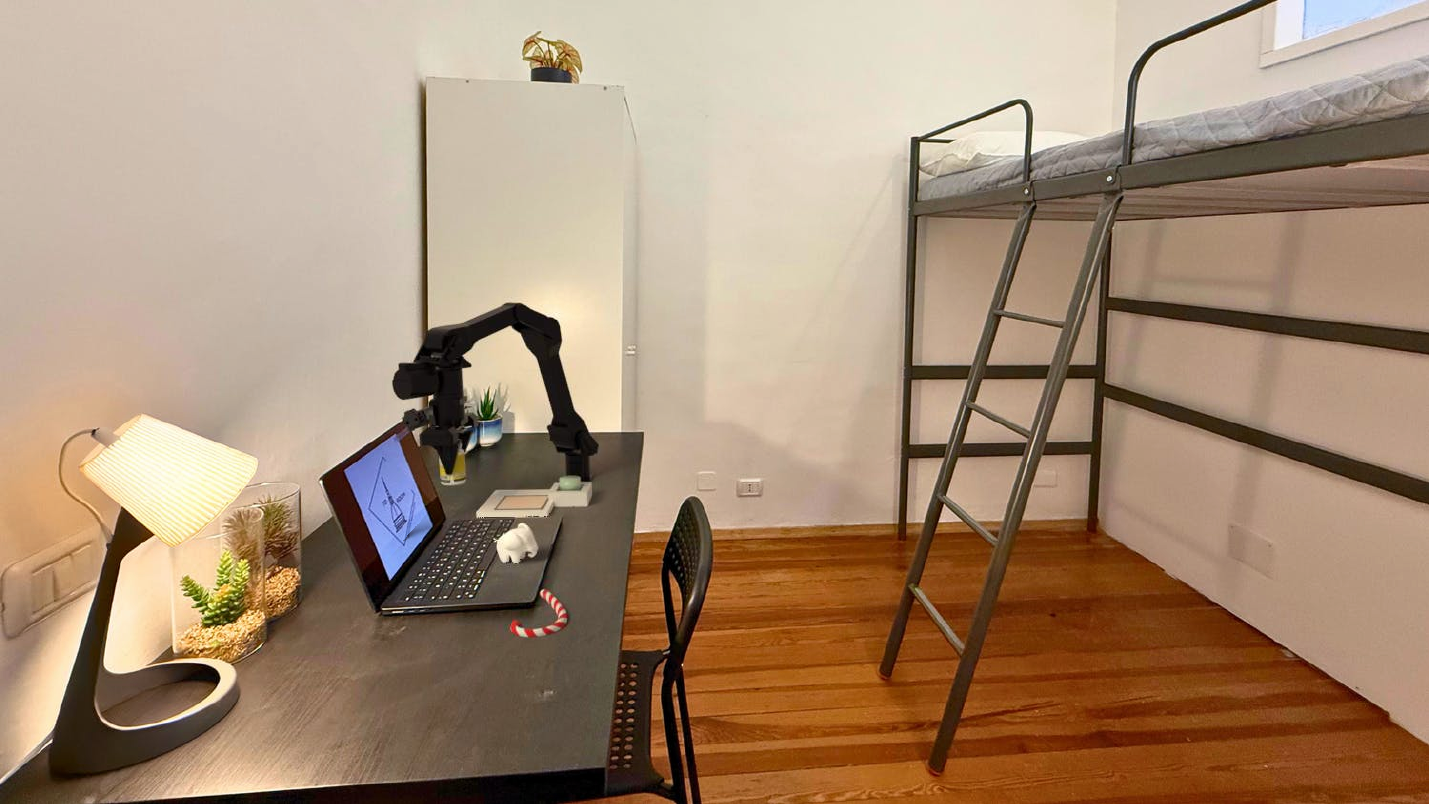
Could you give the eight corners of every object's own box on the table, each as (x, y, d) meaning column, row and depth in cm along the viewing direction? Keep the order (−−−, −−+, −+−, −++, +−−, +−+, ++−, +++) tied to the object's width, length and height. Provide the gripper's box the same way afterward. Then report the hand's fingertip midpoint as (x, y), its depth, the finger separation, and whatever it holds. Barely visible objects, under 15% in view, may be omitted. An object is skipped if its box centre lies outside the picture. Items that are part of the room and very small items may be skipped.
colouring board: (496, 495, 178) (495, 489, 178) (560, 494, 178) (560, 488, 178) (476, 517, 162) (476, 511, 162) (547, 517, 162) (547, 510, 162)
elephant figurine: (530, 569, 135) (529, 535, 134) (485, 566, 136) (483, 532, 135) (546, 555, 141) (544, 522, 140) (502, 552, 143) (501, 519, 142)
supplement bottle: (467, 478, 163) (465, 437, 162) (464, 485, 159) (462, 443, 157) (442, 480, 162) (440, 438, 161) (439, 486, 158) (436, 444, 156)
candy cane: (565, 586, 126) (567, 628, 111) (566, 594, 126) (568, 637, 111) (513, 590, 124) (509, 633, 110) (514, 598, 124) (509, 642, 110)
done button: (561, 486, 175) (561, 475, 175) (582, 486, 175) (581, 475, 175) (558, 492, 171) (557, 481, 170) (579, 491, 171) (578, 480, 170)
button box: (555, 495, 177) (554, 482, 177) (592, 495, 177) (591, 482, 177) (548, 506, 169) (548, 492, 169) (587, 506, 169) (586, 492, 169)
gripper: (422, 386, 167) (427, 460, 169) (388, 401, 148) (394, 484, 151) (477, 385, 167) (481, 459, 169) (450, 400, 148) (455, 483, 151)
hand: (453, 471), depth 160 cm, fingers closed on supplement bottle, 5 cm apart
